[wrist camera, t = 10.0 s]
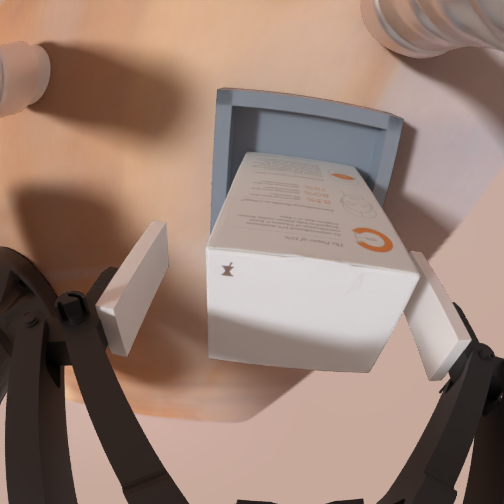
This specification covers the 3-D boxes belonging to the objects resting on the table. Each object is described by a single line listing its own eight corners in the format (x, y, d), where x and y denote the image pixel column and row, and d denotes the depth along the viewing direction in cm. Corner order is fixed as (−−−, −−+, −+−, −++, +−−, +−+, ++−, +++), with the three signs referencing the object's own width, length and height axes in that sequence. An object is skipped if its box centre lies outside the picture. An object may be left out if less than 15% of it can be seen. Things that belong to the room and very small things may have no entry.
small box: (239, 227, 25) (203, 360, 14) (245, 149, 21) (201, 243, 10) (339, 240, 25) (371, 376, 14) (357, 165, 21) (425, 272, 10)
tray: (215, 265, 28) (209, 282, 26) (224, 87, 20) (217, 89, 18) (348, 281, 27) (352, 299, 25) (391, 113, 19) (403, 118, 17)
